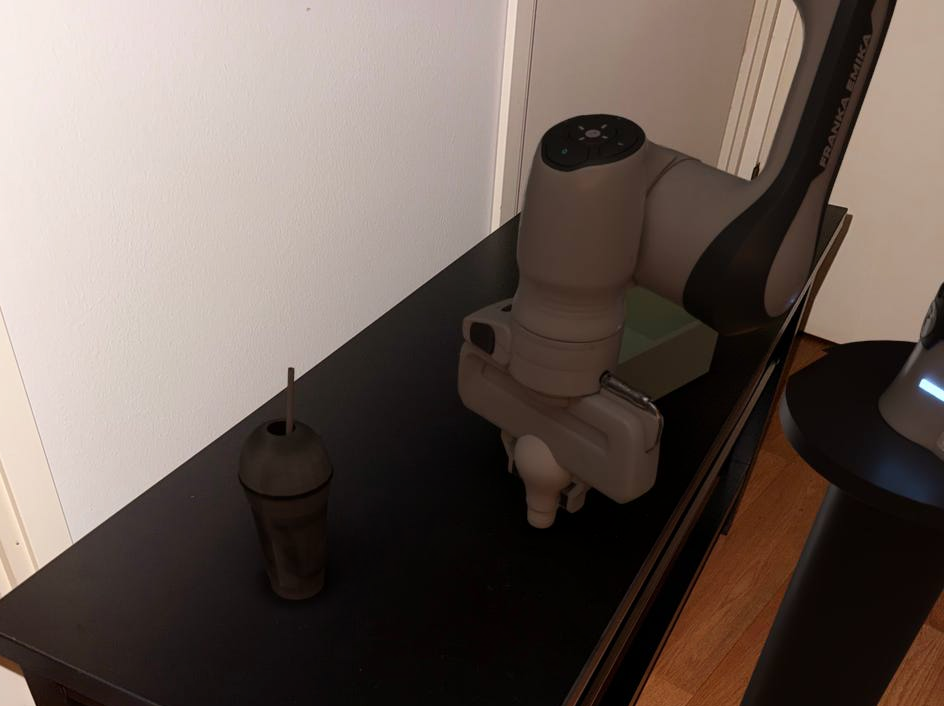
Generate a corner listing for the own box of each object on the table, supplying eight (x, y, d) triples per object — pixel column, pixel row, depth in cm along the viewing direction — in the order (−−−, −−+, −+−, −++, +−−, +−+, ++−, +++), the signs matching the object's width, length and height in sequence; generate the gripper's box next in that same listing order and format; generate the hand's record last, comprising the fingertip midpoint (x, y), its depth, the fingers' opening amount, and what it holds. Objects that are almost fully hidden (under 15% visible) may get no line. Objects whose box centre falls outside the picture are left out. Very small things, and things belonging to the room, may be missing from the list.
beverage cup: (242, 568, 81) (207, 358, 67) (320, 544, 84) (303, 337, 70) (273, 622, 77) (243, 410, 63) (354, 594, 80) (344, 385, 65)
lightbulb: (581, 517, 89) (599, 416, 81) (559, 555, 85) (575, 453, 77) (521, 498, 90) (533, 397, 82) (496, 535, 86) (506, 432, 78)
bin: (618, 325, 115) (629, 266, 110) (708, 371, 108) (724, 311, 103) (510, 375, 106) (516, 314, 100) (602, 429, 99) (613, 366, 94)
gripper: (692, 391, 71) (656, 532, 81) (502, 290, 81) (491, 427, 91) (639, 420, 68) (608, 564, 78) (448, 311, 78) (443, 451, 88)
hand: (544, 489), depth 85 cm, fingers closed on lightbulb, 5 cm apart
